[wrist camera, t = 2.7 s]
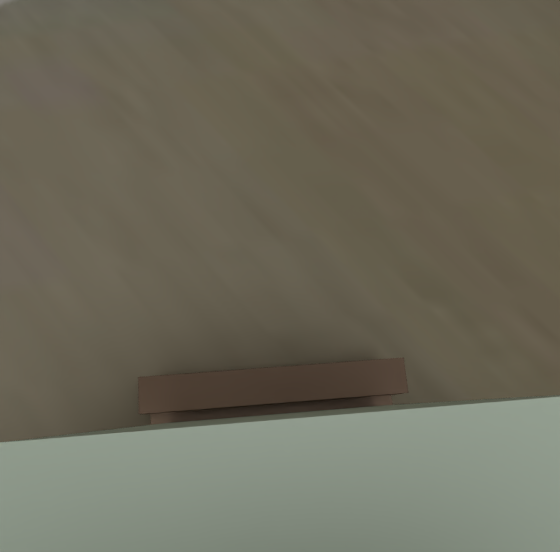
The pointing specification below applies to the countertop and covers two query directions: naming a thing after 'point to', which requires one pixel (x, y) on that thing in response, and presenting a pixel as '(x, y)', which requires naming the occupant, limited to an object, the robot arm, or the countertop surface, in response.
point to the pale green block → (295, 482)
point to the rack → (271, 390)
